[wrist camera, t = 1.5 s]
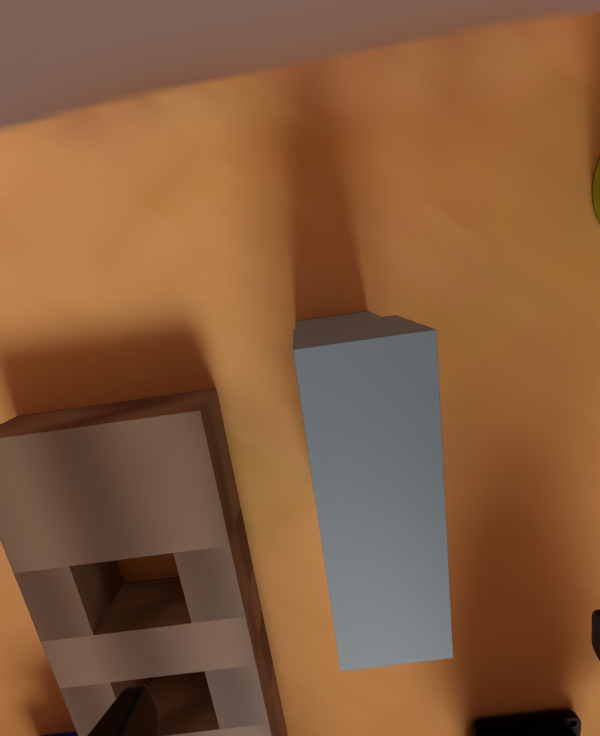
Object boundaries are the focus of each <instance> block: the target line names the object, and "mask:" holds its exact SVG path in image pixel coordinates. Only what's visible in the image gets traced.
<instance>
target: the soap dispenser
mask: <svg viewBox="0 0 600 736" xmlns="http://www.w3.org/2000/svg"><path fill="white" fill-rule="evenodd" d="M593 204H594V209H595V212H596V215H597V218H598V220H599V222H600V160H599V162H598V165H597V168H596V171H595V176H594V181H593Z"/></svg>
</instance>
